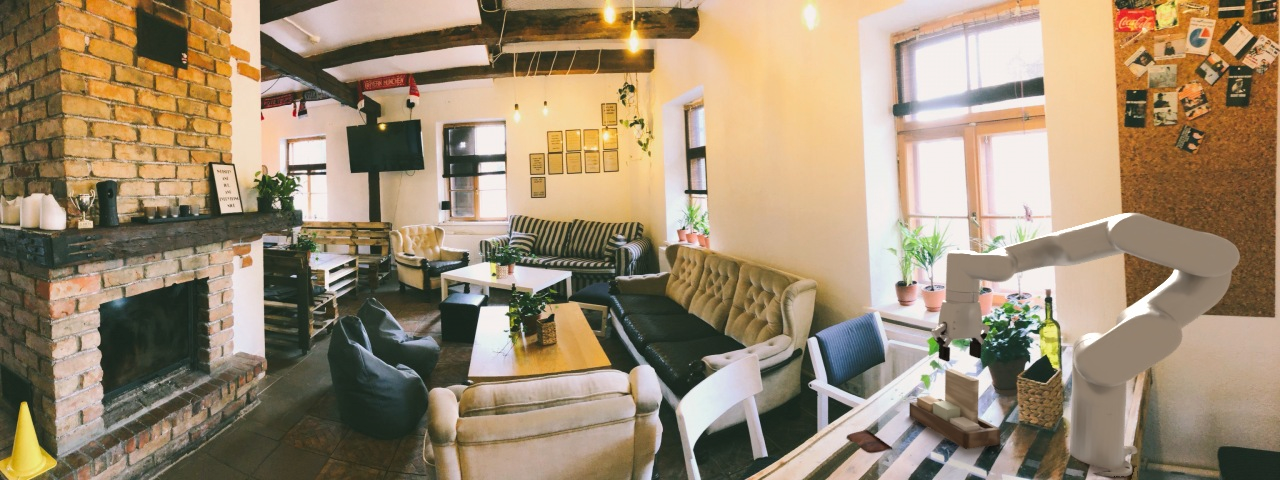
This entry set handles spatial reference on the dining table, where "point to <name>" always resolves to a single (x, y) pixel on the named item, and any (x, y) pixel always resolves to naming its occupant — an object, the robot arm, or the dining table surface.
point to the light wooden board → (962, 393)
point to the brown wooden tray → (957, 429)
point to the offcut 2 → (964, 424)
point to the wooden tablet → (868, 441)
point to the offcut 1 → (926, 402)
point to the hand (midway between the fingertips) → (959, 358)
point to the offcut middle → (946, 410)
